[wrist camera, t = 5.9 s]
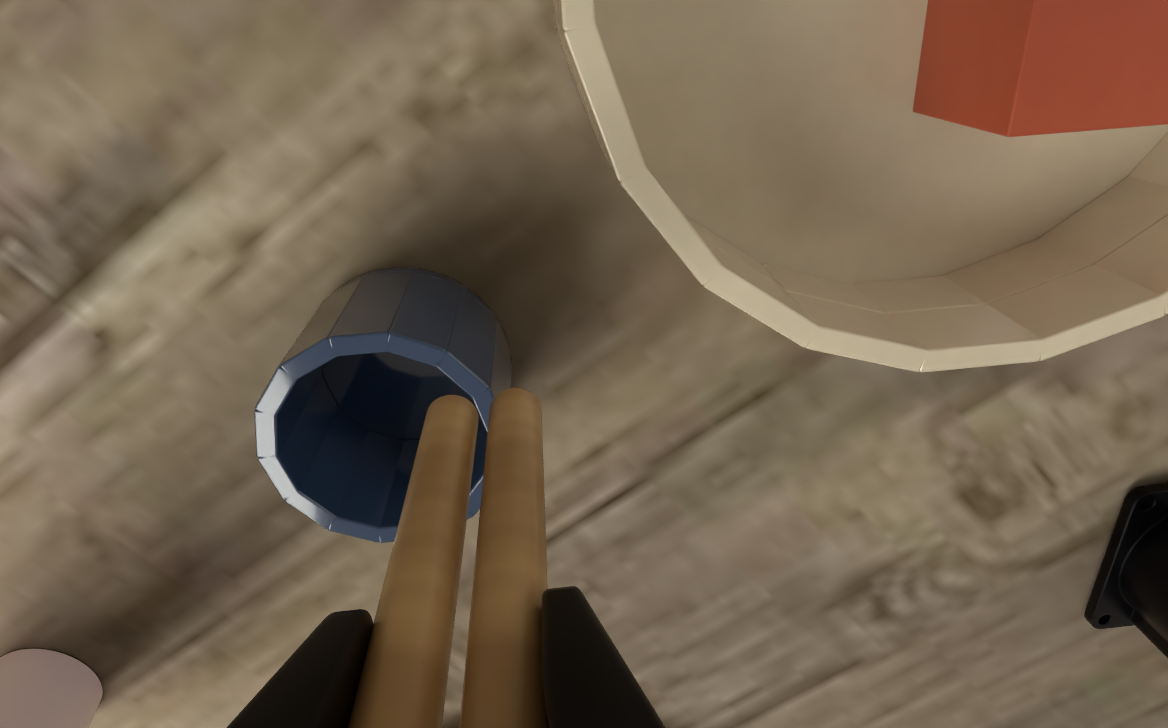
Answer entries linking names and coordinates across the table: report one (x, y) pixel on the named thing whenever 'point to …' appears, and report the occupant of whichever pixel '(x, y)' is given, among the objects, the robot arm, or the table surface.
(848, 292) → the bowl
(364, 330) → the holder
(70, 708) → the smoothie
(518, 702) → the chopsticks
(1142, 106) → the block
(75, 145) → the table surface
